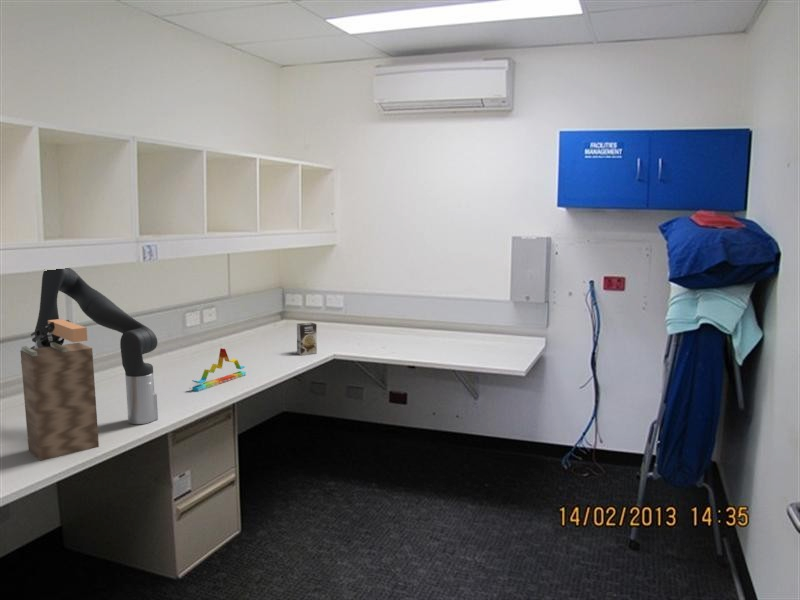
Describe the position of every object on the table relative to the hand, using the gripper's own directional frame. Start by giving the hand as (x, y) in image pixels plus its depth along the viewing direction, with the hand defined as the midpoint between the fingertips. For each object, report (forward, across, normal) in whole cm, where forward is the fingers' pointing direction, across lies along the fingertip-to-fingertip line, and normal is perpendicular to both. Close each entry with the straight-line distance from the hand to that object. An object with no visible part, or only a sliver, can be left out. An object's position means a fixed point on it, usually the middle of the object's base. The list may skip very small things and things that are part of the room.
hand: (60, 323), depth 206 cm
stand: (-13, -4, +37) cm, 40 cm away
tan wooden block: (+3, 0, +6) cm, 7 cm away
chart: (-46, +71, +19) cm, 87 cm away
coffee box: (-64, +133, +8) cm, 148 cm away
